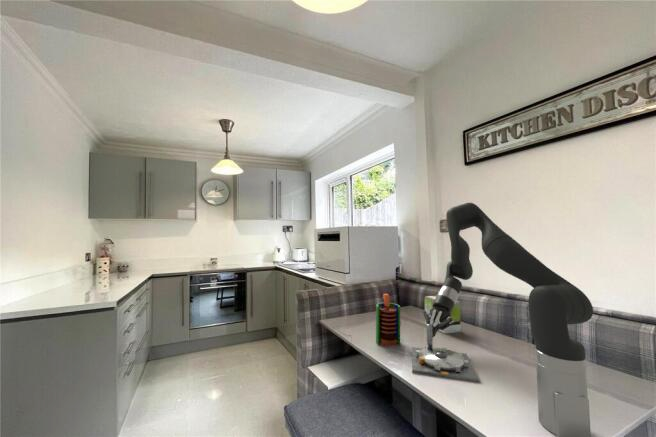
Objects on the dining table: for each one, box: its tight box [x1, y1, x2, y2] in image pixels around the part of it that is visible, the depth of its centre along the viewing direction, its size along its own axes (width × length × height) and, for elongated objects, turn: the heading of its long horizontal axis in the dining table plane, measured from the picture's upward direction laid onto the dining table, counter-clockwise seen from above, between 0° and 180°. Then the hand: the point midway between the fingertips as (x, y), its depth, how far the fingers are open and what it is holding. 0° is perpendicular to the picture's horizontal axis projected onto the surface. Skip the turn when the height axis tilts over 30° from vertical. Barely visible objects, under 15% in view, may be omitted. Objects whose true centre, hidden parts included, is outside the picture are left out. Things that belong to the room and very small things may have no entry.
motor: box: [375, 293, 401, 347], centre depth 118 cm, size 10×9×20 cm
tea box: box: [424, 295, 462, 334], centre depth 137 cm, size 15×10×15 cm
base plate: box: [411, 346, 480, 383], centre depth 97 cm, size 20×20×1 cm
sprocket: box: [416, 324, 468, 372], centre depth 97 cm, size 17×17×10 cm
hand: (429, 336), depth 105 cm, fingers closed
